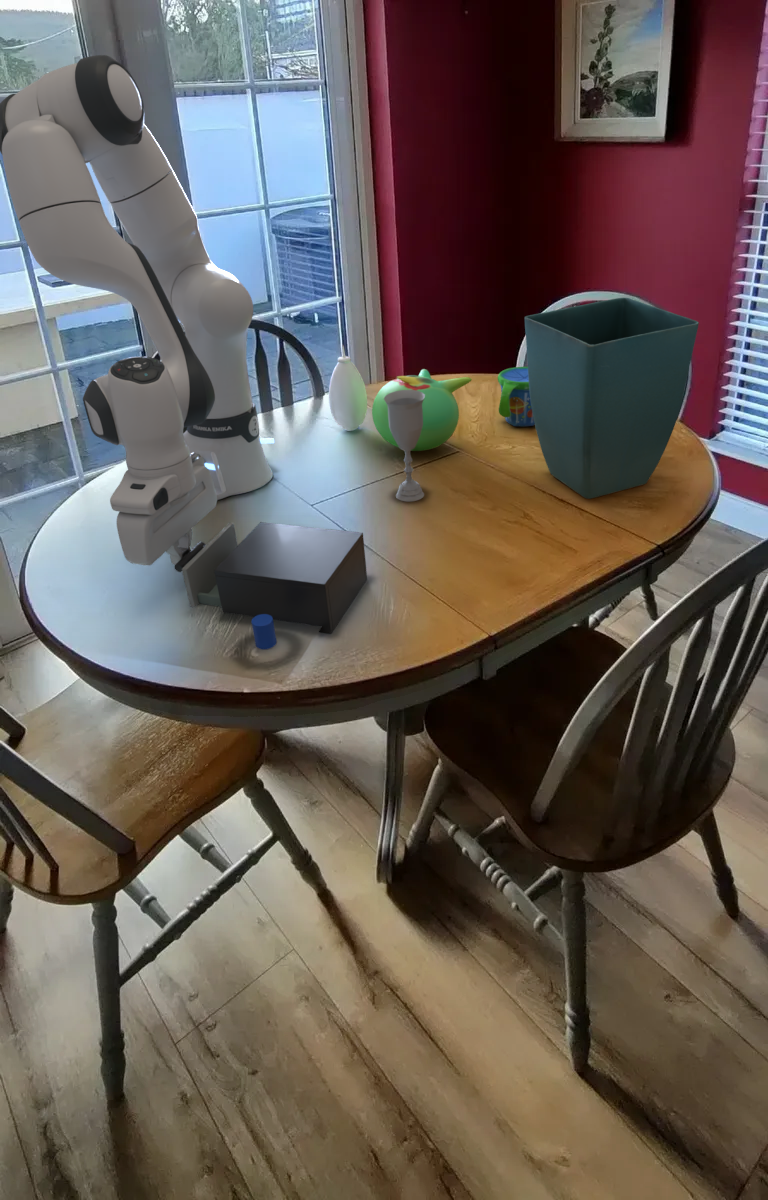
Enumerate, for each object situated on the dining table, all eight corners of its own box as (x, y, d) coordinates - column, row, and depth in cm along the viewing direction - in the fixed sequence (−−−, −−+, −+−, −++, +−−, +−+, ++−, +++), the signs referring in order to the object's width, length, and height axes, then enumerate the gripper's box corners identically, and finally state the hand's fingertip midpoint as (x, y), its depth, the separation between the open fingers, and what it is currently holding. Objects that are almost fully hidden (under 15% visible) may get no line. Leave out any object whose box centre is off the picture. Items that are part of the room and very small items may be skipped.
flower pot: (578, 515, 137) (590, 343, 121) (518, 471, 152) (522, 315, 137) (679, 489, 142) (702, 322, 127) (611, 449, 158) (624, 296, 143)
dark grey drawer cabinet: (223, 618, 118) (213, 570, 114) (268, 567, 129) (260, 521, 125) (331, 634, 113) (324, 584, 108) (367, 579, 124) (363, 532, 120)
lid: (254, 629, 115) (249, 600, 112) (304, 637, 113) (300, 607, 110) (228, 662, 109) (222, 632, 106) (281, 670, 107) (275, 640, 104)
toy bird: (359, 444, 169) (353, 373, 161) (425, 422, 176) (421, 354, 168) (412, 471, 156) (408, 395, 148) (480, 446, 164) (480, 373, 156)
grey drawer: (167, 606, 121) (157, 566, 117) (214, 558, 132) (206, 520, 128) (295, 625, 114) (288, 582, 111) (333, 573, 125) (328, 533, 122)
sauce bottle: (347, 420, 181) (339, 337, 171) (376, 426, 177) (369, 341, 167) (325, 432, 175) (315, 347, 166) (354, 438, 171) (346, 352, 162)
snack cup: (526, 405, 181) (527, 359, 175) (566, 415, 174) (569, 368, 169) (479, 427, 172) (479, 379, 166) (520, 439, 165) (521, 389, 160)
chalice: (425, 504, 144) (421, 405, 134) (387, 503, 145) (380, 404, 135) (431, 486, 150) (428, 389, 140) (395, 485, 151) (388, 389, 141)
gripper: (181, 446, 126) (198, 526, 134) (101, 505, 110) (126, 593, 118) (218, 449, 124) (233, 530, 132) (141, 510, 108) (164, 598, 116)
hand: (182, 560), depth 124 cm, fingers closed, pressing on grey drawer
